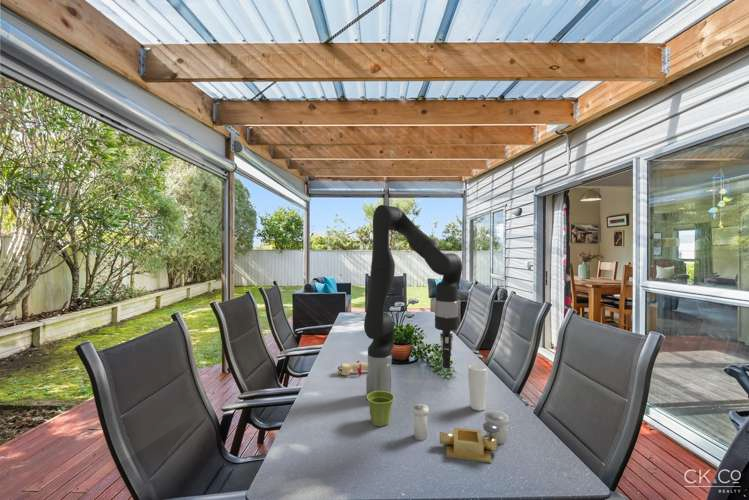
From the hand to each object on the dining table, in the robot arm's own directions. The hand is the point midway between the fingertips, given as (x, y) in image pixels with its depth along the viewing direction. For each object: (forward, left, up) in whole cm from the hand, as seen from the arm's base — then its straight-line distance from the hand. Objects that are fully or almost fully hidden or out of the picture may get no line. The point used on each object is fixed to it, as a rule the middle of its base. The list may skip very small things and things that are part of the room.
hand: (446, 363), depth 111 cm
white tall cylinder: (+11, +17, -21) cm, 29 cm away
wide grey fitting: (+15, -3, -21) cm, 26 cm away
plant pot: (-22, -1, -21) cm, 30 cm away
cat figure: (-39, +42, -22) cm, 61 cm away
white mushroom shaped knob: (-8, -7, -21) cm, 24 cm away
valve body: (+6, -11, -21) cm, 25 cm away
